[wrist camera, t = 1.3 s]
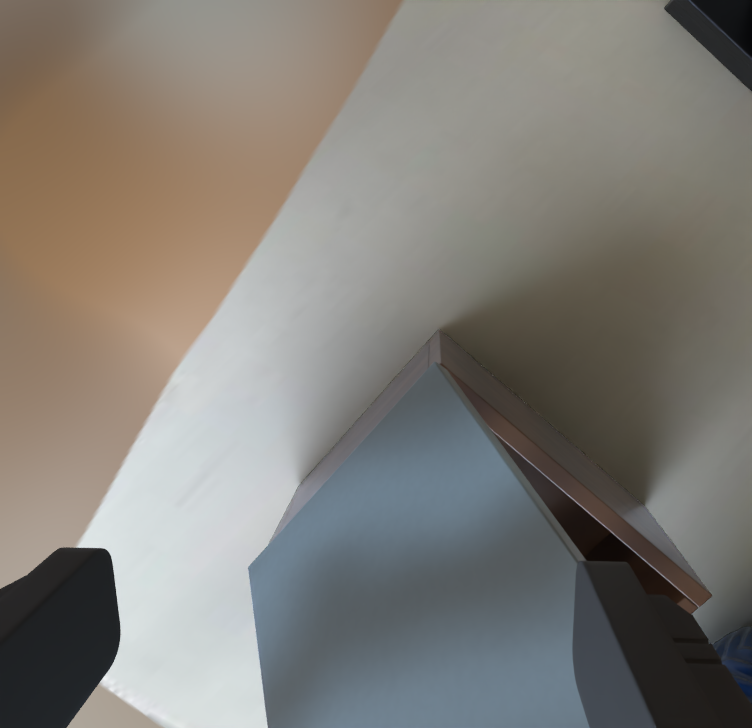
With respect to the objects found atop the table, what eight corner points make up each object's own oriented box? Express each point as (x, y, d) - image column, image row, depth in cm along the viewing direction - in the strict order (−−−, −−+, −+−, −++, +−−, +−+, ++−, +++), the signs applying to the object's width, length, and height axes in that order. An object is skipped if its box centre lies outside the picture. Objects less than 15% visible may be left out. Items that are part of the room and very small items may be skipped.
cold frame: (646, 507, 36) (713, 596, 27) (494, 647, 38) (511, 768, 30) (438, 328, 35) (440, 362, 26) (297, 486, 37) (257, 564, 29)
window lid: (754, 789, 12) (736, 783, 12) (339, 1101, 15) (313, 1105, 14) (447, 369, 26) (434, 360, 25) (261, 572, 28) (247, 567, 28)
